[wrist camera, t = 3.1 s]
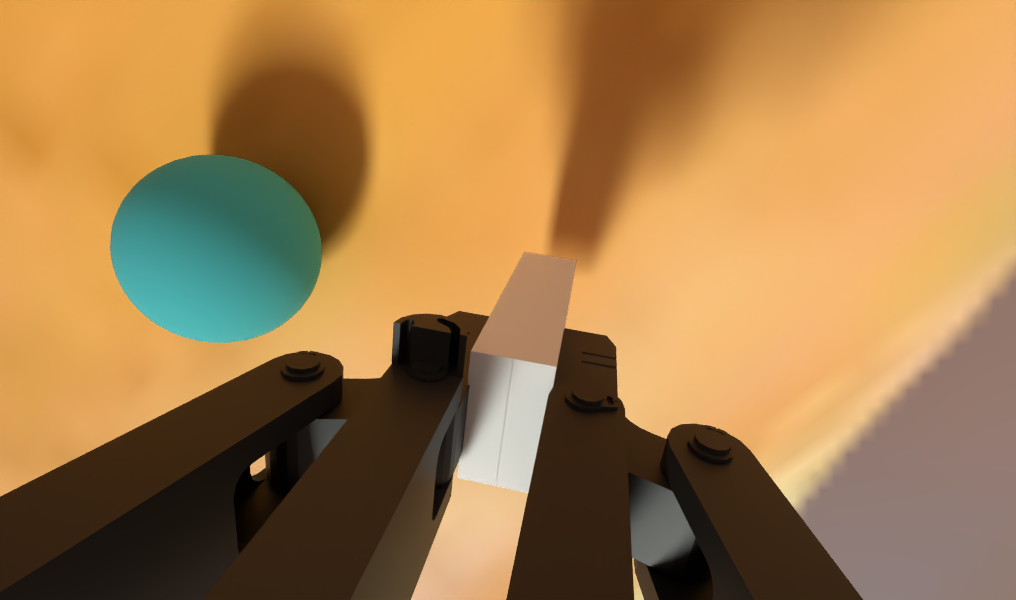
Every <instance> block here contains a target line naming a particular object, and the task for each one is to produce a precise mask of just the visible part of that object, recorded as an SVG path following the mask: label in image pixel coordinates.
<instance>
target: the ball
mask: <svg viewBox="0 0 1016 600" xmlns="http://www.w3.org/2000/svg"><path fill="white" fill-rule="evenodd" d="M110 250H111V259H112V264H113V268H114V271H115V274H116V276H117V279H118V281H119V283H120V285H121V287H122V289H123V290H124V292H125V294H126V295H127V296H128V298H129V299H130V301H131V302H132V303H133V304H134V305H135V306H136V308H137V309H138V310H139V311H140V312H142V313H143V314H144V315H145V316H146V317H147V318H149V319H150V320H151V321H153V322H154V323H156V324H157V325H159V326H161V327H162V328H164V329H166V330H168V331H170V332H172V333H174V334H177V335H180V336H182V337H186V338H190V339H194V340H198V341H204V342H215V343H229V342H236V341H243V340H248V339H251V338H255V337H258V336H261V335H264V334H266V333H268V332H270V331H272V330H274V329H276V328H277V327H279V326H281V325H282V324H284V323H285V322H286V321H288V320H289V319H290V318H291V317H292V316H293V315H295V314H296V313H297V312H298V311H299V310H300V309H301V307H302V306H303V305H304V303H305V302H306V301H307V299H308V298H309V296H310V295H311V293H312V291H313V289H314V287H315V284H316V282H317V279H318V276H319V272H320V267H321V257H322V246H321V238H320V233H319V229H318V226H317V223H316V220H315V218H314V216H313V214H312V212H311V210H310V208H309V207H308V205H307V203H306V202H305V201H304V199H303V198H302V197H301V195H300V194H299V193H298V192H297V191H296V190H295V189H294V188H293V187H292V186H291V185H290V184H289V183H288V182H287V181H285V180H284V179H283V178H282V177H280V176H279V175H277V174H276V173H274V172H273V171H271V170H269V169H267V168H265V167H263V166H261V165H259V164H256V163H254V162H251V161H248V160H245V159H242V158H237V157H232V156H226V155H199V156H191V157H187V158H183V159H179V160H175V161H172V162H170V163H168V164H165V165H163V166H161V167H159V168H157V169H155V170H154V171H152V172H151V173H149V174H148V175H146V176H145V177H144V178H143V179H141V180H140V181H139V182H138V183H137V184H136V185H135V186H134V187H133V188H132V189H131V191H130V192H129V193H128V194H127V196H126V197H125V198H124V200H123V201H122V203H121V205H120V207H119V209H118V211H117V214H116V216H115V219H114V222H113V225H112V231H111V244H110Z"/></svg>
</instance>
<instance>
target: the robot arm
mask: <svg viewBox="0 0 1016 600" xmlns="http://www.w3.org/2000/svg"><path fill="white" fill-rule="evenodd" d="M576 262H577V260H572V259H566V258H560V257H554V256H548V255H542V254H536V253H529V252H524V253H523V255H522V257H521V259H520V261H519V262H518V264H517V266H516V268H515V270H514V272H513V274H512V275H511V277H510V279H509V281H508V283H507V285H506V287H505V288H504V290H503V292H502V294H501V296H500V298H499V300H498V301H497V303H496V305H495V307H494V309H493V311H492V313H491V314H490V316H484V315H478V314H473V313H467V312H462V311H458V312H456V313H454V314H452V315H449V316H447V317H446V316H442V315H435V314H414V315H410V316H406V317H402V318H400V319H398V320H397V321H395V322H394V326H393V347H392V364H391V366H390V367H389V368H388V369H387V371H386V372H385V373H384V374H383V376H382V377H381V378H375V379H343V366H342V364H341V363H340V361H339V360H338V359H336V358H334V357H332V356H330V355H327V354H322V353H318V352H313V351H310V352H308V351H299V352H297V353H291V354H285V355H283V356H280V357H277V358H274V359H272V360H270V361H268V362H266V363H264V364H262V365H260V366H258V367H256V368H254V369H252V370H250V371H248V372H246V373H244V374H242V375H240V376H238V377H236V378H234V379H232V380H230V381H228V382H227V383H225V384H223V385H221V386H219V387H217V388H215V389H213V390H211V391H209V392H207V393H205V394H203V395H201V396H199V397H197V398H195V399H193V400H191V401H189V402H187V403H185V404H183V405H181V406H179V407H177V408H175V409H173V410H171V411H169V412H167V413H165V414H163V415H161V416H159V417H157V418H155V419H153V420H151V421H149V422H147V423H145V424H143V425H141V426H139V427H137V428H135V429H133V430H131V431H129V432H127V433H125V434H124V435H122V436H120V437H118V438H116V439H114V440H112V441H110V442H108V443H106V444H104V445H102V446H100V447H98V448H96V449H94V450H92V451H90V452H88V453H86V454H84V455H82V456H80V457H78V458H76V459H74V460H72V461H70V462H68V463H66V464H64V465H62V466H60V467H58V468H56V469H54V470H52V471H50V472H48V473H46V474H44V475H42V476H40V477H38V478H36V479H34V480H32V481H30V482H28V483H26V484H24V485H22V486H20V487H19V488H17V489H15V490H13V491H11V492H9V493H7V494H5V495H3V496H1V497H0V600H411V597H412V595H413V592H414V590H415V587H416V585H417V582H418V579H419V577H420V574H421V572H422V569H423V567H424V564H425V561H426V559H427V556H428V554H429V551H430V549H431V546H432V543H433V541H434V538H435V536H436V533H437V531H438V528H439V525H440V523H441V520H442V518H443V515H444V513H445V510H446V507H447V505H448V502H449V500H450V497H451V490H452V480H453V473H454V471H455V468H456V466H457V463H458V461H459V468H458V477H457V478H460V479H465V480H470V481H474V482H479V483H484V484H488V485H493V486H498V487H502V488H507V489H512V490H516V491H521V492H525V493H528V497H527V502H526V507H525V512H524V516H523V521H522V526H521V531H520V536H519V541H518V546H517V551H516V555H515V560H514V565H513V570H512V575H511V580H510V585H509V590H508V594H507V599H506V600H634V587H633V567H632V558H634V566H635V573H636V576H637V579H638V582H639V585H640V588H641V591H642V594H643V597H644V600H863V599H862V598H861V596H860V595H859V594H858V592H857V591H856V590H855V588H854V587H853V586H852V584H851V583H850V582H849V580H848V579H847V578H846V577H845V575H844V574H843V573H842V571H841V570H840V568H839V567H838V566H837V565H836V563H835V562H834V561H833V559H832V558H831V557H830V555H829V554H828V553H827V551H826V550H825V549H824V547H823V546H822V545H821V543H820V542H819V541H818V540H817V538H816V537H815V535H814V534H813V533H812V531H811V530H810V529H809V528H808V526H807V525H806V524H805V522H804V521H803V520H802V518H801V517H800V516H799V514H798V513H797V512H796V510H795V509H794V508H793V506H792V505H791V504H790V502H789V501H788V500H787V498H786V497H785V496H784V494H783V493H782V492H781V490H780V489H779V488H778V487H777V485H776V484H775V483H774V481H773V480H772V479H771V477H770V476H769V475H768V473H767V472H766V471H765V469H764V468H763V467H762V465H761V464H760V463H759V461H758V460H757V459H756V457H755V456H754V455H753V453H752V452H751V451H750V450H749V449H748V448H747V447H746V446H745V445H744V444H743V443H742V442H741V441H740V440H738V439H736V438H735V437H733V436H731V435H730V434H728V433H727V432H725V431H723V430H721V429H716V427H712V426H708V425H699V424H681V425H679V426H676V427H674V428H672V429H671V431H670V432H669V434H668V436H667V439H665V438H662V437H660V436H657V435H655V434H652V433H650V432H648V431H646V430H643V429H641V428H639V427H638V426H636V425H635V424H633V423H632V422H630V421H629V420H628V419H627V418H626V417H625V408H624V405H623V403H622V401H621V400H620V399H619V398H618V394H617V369H616V368H617V363H616V346H615V345H614V344H613V343H612V342H611V340H610V339H609V338H608V337H607V336H605V335H599V334H594V333H588V332H582V331H577V330H571V329H566V328H565V325H566V319H567V314H568V308H569V302H570V296H571V290H572V285H573V279H574V273H575V267H576ZM264 455H265V462H266V468H265V469H263V470H262V471H261V472H259V473H258V474H256V475H253V476H251V474H250V465H251V464H252V463H253V462H255V461H256V460H258V459H259V458H261V457H262V456H264Z"/></svg>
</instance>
